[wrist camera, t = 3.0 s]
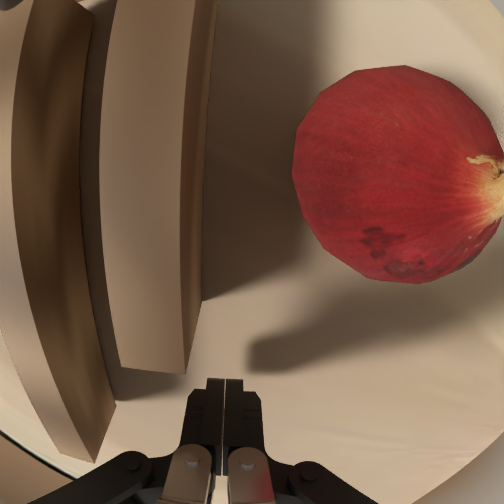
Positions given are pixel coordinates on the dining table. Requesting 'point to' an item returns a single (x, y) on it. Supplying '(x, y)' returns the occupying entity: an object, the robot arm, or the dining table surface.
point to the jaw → (48, 223)
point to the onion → (399, 174)
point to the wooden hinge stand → (155, 176)
